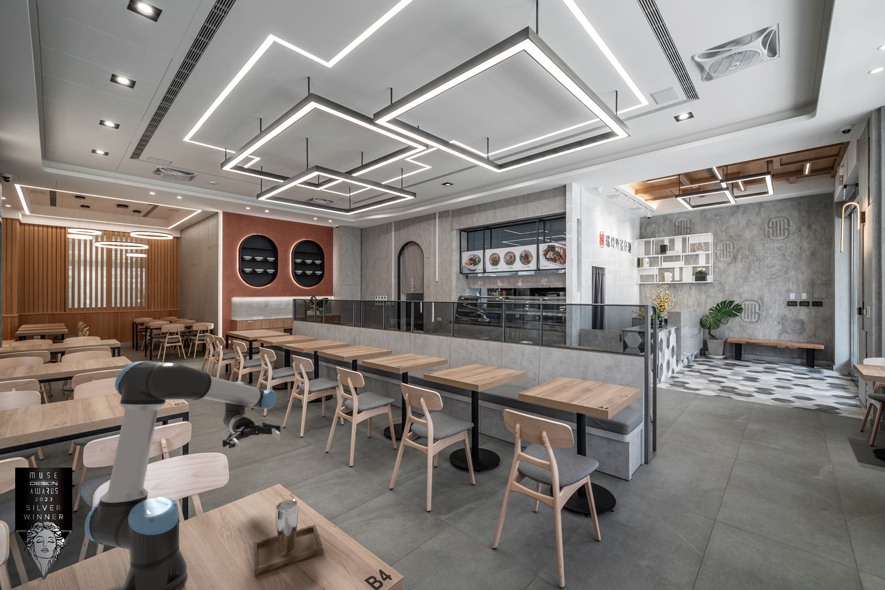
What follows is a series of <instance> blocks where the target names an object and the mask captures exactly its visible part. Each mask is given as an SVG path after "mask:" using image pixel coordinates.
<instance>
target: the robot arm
mask: <svg viewBox="0 0 885 590" xmlns="http://www.w3.org/2000/svg"><path fill="white" fill-rule="evenodd" d="M211 375H212V374H210V373H209V372H207V371H204V370H199V369H197V368H194V367H191V366H188V365H184V364H181V363H177V362H164V361H152V360H151V361H150V360H143V361H134V362H132V363H129V364H128V365H126V366H125V367H123V368H122V369H121V370H120V372H119V373H118V375H117V376H116V378H115V382H114V388H115V390H116V391H117V393H118V394H119V395H120V396H121V397H120V402H119V405H120V406H121V407H122V408H123V409H124V411H123V412H124V413H123V415H122V416H123V418H122V422H121V427H120V432H119V436H118V441H117V446H116V451H115V457H114V460H113V465H112V471H111V476H110V480H109V485H108V489H107V492H105V493H104V494H102V495H101V496H100V498H99V501H98V503H97V504H95V505H94V507H93V508H92V510H90V511H89V513H88V514H87V516H86V519H85V521H84V533H85V536H86V537H87V538H88V539H89V540H90V541H92V542H95V543H97V544H99V545H103V546H111V547H115V548H121V549H125V550H128V551H129V562H130V563H129V565H130V567H129V568H128V571H127V574H126V578H125V580H124V584H123V586H122V590H173V589H174V590H175V589H177V587H179V586H180V585H181V584H182V583H183V582H184V581H185V579H186V577H187V573H188V572H187V571H188V568H187V567H188V566H187V562H186V560H185V558H184V556H183V554H182V551H181V550H180V512H179V507H178V503H177V502H176V500H175V499H173V498H171V497H165V496H161V497H160V496H159V497H157V498H155V497H151V498H148V496H149V495H148V494H149V491H148V490H147V489H146V488H145V487H144V485H145V480H146V475H147V469H148V464H149V459H150V454H151V448H152V443H153V439H154V433H155V429H156V422H157V419H158V418H157V417H158V412H159V409H160V408H161V407H163V406H164V405H165V404H166V401H167V400H190V401H200V400H202V399H203V400H209V401H216V402H219V403H220V402H221V403H224V413H223V416H222V422H223V424H224V426H225V427H226V428H227V429H228V430H227V431H226V434H225V436H224V437H223V438H222V448H226V447H227V446H228V449H232V448H233V449H235V450H236V451H237V452H241V442H239V441H240V440H243V439H247V438H249V437H250V436H259V435H271V437H273V438H274V439H275V440H277V441H279V442H280V441H281V432H282V431H281V430H282V429H281V425H278V424H271V423H266V422H262V423H261V424H260V425H258V424H256V423H255V422H254V421H253V420H252V419H251V418H250V417H249V416H247V415H246V408H254V409H263V410H265V409H266V410H267V409H268V410H270V409H271V408H273V407H275V405H276V403H277V400H278V395H277V393H276V391H275V390H273V389H266V388H259V387H255V386H252V385H249V384H248V385H247V384H246V383H245V382H244V381H231V380H226V379H223V378H218V377H215V376H211Z"/></svg>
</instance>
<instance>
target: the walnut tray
mask: <svg viewBox="0 0 885 590" xmlns="http://www.w3.org/2000/svg"><path fill="white" fill-rule="evenodd" d="M296 542H297V549H296V551H295V552H293V553H292V554H289V555H285V556H282V555H279V554H278V545H279V538H278V534H277V535H274V536H270V537H267V538H263V539H260V540H257V541H253V543H252V544H253V563H254V577H258V576H261V575H265V574H267V573H270V572H273V571H277V570H280V569H283V568H285V567H289V566H292V565H295V564H298V563H301V562H304V561H308V560H311V559H313V558H315V557H320V556H323V555H324V552H323V551H324V547H323V545H322V541H321V538H320V535H319V532H318V528H317V524H312V525H309V526H306V527H301V528H297V531H296Z"/></svg>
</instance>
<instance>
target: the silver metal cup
mask: <svg viewBox="0 0 885 590" xmlns="http://www.w3.org/2000/svg"><path fill="white" fill-rule="evenodd" d="M298 507H299V506H298V501H297V500H296V499H291V498H290V499H285V500H282V501H280V502H279V503H277V504H276V506H275V529H276V533H277V535H278V538H279V545H278V554H279V555H282V556H285V555H289V554H292V553H293V552H295V551H296V549H297V542H296V531H297V530H298V523H299V508H298Z"/></svg>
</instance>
